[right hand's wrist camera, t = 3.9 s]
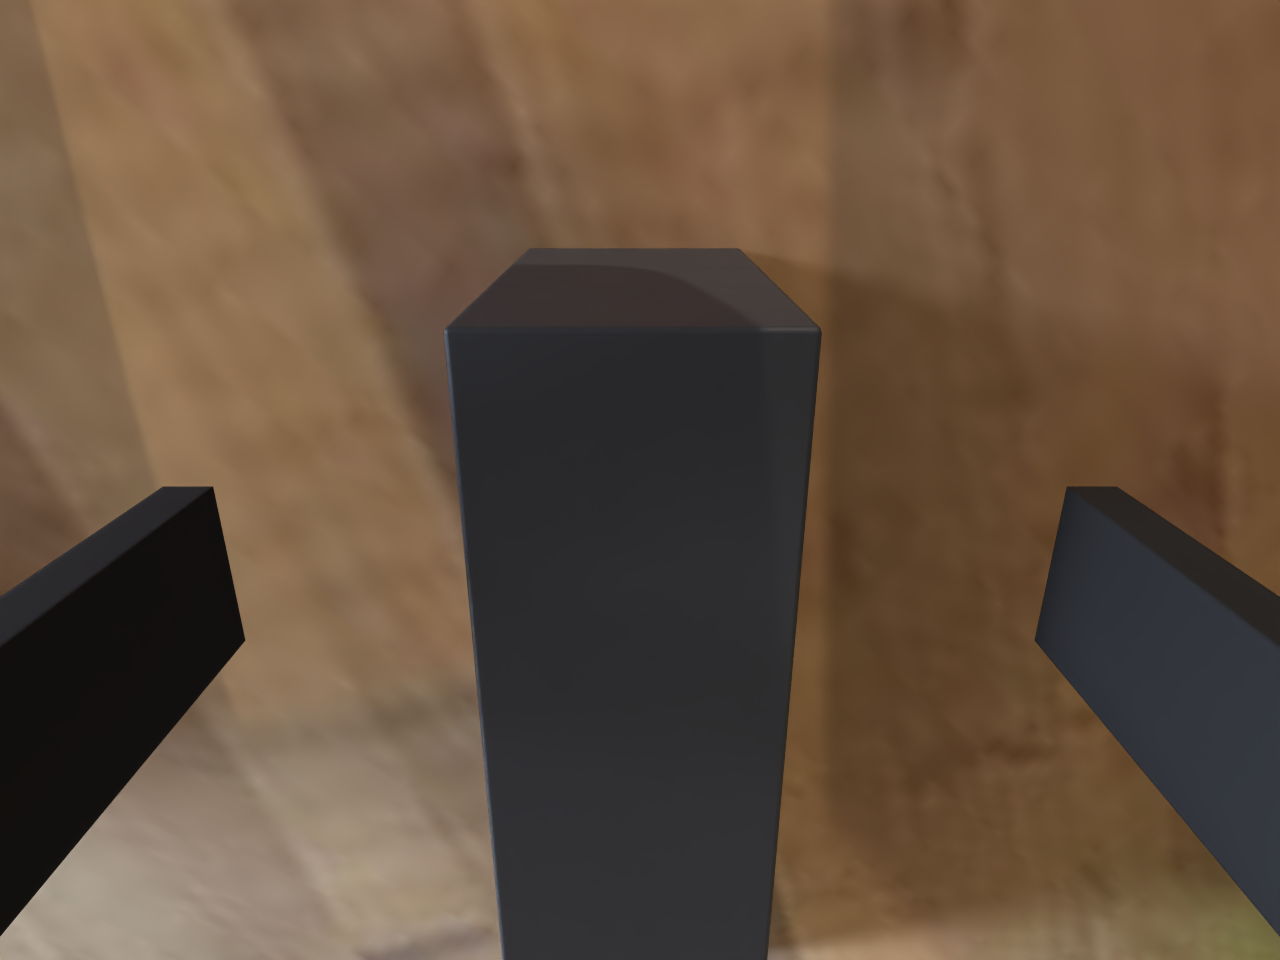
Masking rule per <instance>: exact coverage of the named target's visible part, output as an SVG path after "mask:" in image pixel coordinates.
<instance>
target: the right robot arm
mask: <svg viewBox="0 0 1280 960" xmlns="http://www.w3.org/2000/svg"><path fill="white" fill-rule="evenodd" d="M244 641H245V636H244V632H243V627H242V622H241V617H240V613H239V608H238V603H237V598H236V594H235V589H234V584H233V579H232V574H231V570H230V565H229V560H228V555H227V551H226V546H225V541H224V536H223V532H222V527H221V522H220V517H219V512H218V508H217V503H216V498H215V493H214V489H213V487H162V488H160V489H159V490H158V491H156V492H155V493H153V494H152V495H150V496H149V497H147V498H146V499H144V500H143V501H141V502H140V503H138V504H137V505H135V506H134V507H132V508H131V509H129V510H128V511H126V512H125V513H124V514H122V515H121V516H119V517H118V518H116V519H115V520H113V521H112V522H110V523H109V524H107V525H106V526H104V527H103V528H101V529H100V530H98V531H97V532H95V533H94V534H93V535H91V536H90V537H88V538H87V539H85V540H84V541H82V542H81V543H79V544H78V545H76V546H75V547H73V548H72V549H70V550H69V551H67V552H66V553H64V554H63V555H61V556H60V557H59V558H57V559H56V560H54V561H53V562H51V563H50V564H48V565H47V566H45V567H44V568H42V569H41V570H39V571H38V572H36V573H35V574H33V575H32V576H30V577H29V578H28V579H26V580H25V581H23V582H22V583H20V584H19V585H17V586H16V587H14V588H13V589H11V590H10V591H8V592H7V593H5V594H4V595H2V596H1V597H0V936H1V935H2V934H3V932H4V931H5V930H6V929H7V928H8V926H9V925H10V924H11V923H12V922H13V920H14V919H15V918H16V917H17V915H18V914H19V913H20V912H21V911H22V909H23V908H24V907H25V906H26V905H27V903H28V902H29V901H30V900H31V899H32V897H33V896H34V895H35V894H36V893H37V891H38V890H39V889H40V888H41V887H42V885H43V884H44V883H45V882H46V880H47V879H48V878H49V877H50V876H51V874H52V873H53V872H54V871H55V870H56V868H57V867H58V866H59V865H60V864H61V862H62V861H63V860H64V859H65V858H66V856H67V855H68V854H69V853H70V851H71V850H72V849H73V848H74V847H75V845H76V844H77V843H78V842H79V841H80V839H81V838H82V837H83V836H84V835H85V833H86V832H87V831H88V830H89V829H90V827H91V826H92V825H93V824H94V823H95V821H96V820H97V819H98V818H99V816H100V815H101V814H102V813H103V812H104V810H105V809H106V808H107V807H108V806H109V804H110V803H111V802H112V801H113V800H114V798H115V797H116V796H117V795H118V794H119V792H120V791H121V790H122V789H123V788H124V786H125V785H126V784H127V783H128V781H129V780H130V779H131V778H132V777H133V775H134V774H135V773H136V772H137V771H138V769H139V768H140V767H141V766H142V765H143V763H144V762H145V761H146V760H147V759H148V757H149V756H150V755H151V754H152V752H153V751H154V750H155V749H156V748H157V746H158V745H159V744H160V743H161V742H162V740H163V739H164V738H165V737H166V736H167V734H168V733H169V732H170V731H171V730H172V728H173V727H174V726H175V725H176V724H177V722H178V721H179V720H180V719H181V717H182V716H183V715H184V714H185V713H186V711H187V710H188V709H189V708H190V707H191V705H192V704H193V703H194V702H195V701H196V699H197V698H198V697H199V696H200V695H201V693H202V692H203V691H204V690H205V689H206V687H207V686H208V685H209V684H210V682H211V681H212V680H213V679H214V678H215V676H216V675H217V674H218V673H219V672H220V670H221V669H222V668H223V667H224V666H225V664H226V663H227V662H228V661H229V660H230V658H231V657H232V656H233V655H234V654H235V652H236V651H237V650H238V649H239V647H240V646H241V645H242V644H243V643H244ZM1035 641H1036V643H1037V644H1038V645H1039V646H1040V647H1041V649H1042V650H1043V651H1044V652H1045V654H1046V655H1047V656H1048V657H1049V658H1050V660H1051V661H1052V662H1053V663H1054V664H1055V666H1056V667H1057V668H1058V669H1059V670H1060V672H1061V673H1062V674H1063V675H1064V676H1065V678H1066V679H1067V680H1068V681H1069V682H1070V684H1071V685H1072V686H1073V687H1074V689H1075V690H1076V691H1077V692H1078V693H1079V695H1080V696H1081V697H1082V698H1083V699H1084V701H1085V702H1086V703H1087V704H1088V705H1089V707H1090V708H1091V709H1092V710H1093V711H1094V713H1095V714H1096V715H1097V716H1098V717H1099V719H1100V720H1101V721H1102V722H1103V724H1104V725H1105V726H1106V727H1107V728H1108V730H1109V731H1110V732H1111V733H1112V734H1113V736H1114V737H1115V738H1116V739H1117V740H1118V742H1119V743H1120V744H1121V745H1122V746H1123V748H1124V749H1125V750H1126V751H1127V752H1128V754H1129V755H1130V756H1131V757H1132V759H1133V760H1134V761H1135V762H1136V763H1137V765H1138V766H1139V767H1140V768H1141V769H1142V771H1143V772H1144V773H1145V774H1146V775H1147V777H1148V778H1149V779H1150V780H1151V781H1152V783H1153V784H1154V785H1155V786H1156V788H1157V789H1158V790H1159V791H1160V792H1161V794H1162V795H1163V796H1164V797H1165V798H1166V800H1167V801H1168V802H1169V803H1170V804H1171V806H1172V807H1173V808H1174V809H1175V810H1176V812H1177V813H1178V814H1179V815H1180V816H1181V818H1182V819H1183V820H1184V821H1185V823H1186V824H1187V825H1188V826H1189V827H1190V829H1191V830H1192V831H1193V832H1194V833H1195V835H1196V836H1197V837H1198V838H1199V839H1200V841H1201V842H1202V843H1203V844H1204V845H1205V847H1206V848H1207V849H1208V850H1209V851H1210V853H1211V854H1212V855H1213V856H1214V858H1215V859H1216V860H1217V861H1218V862H1219V864H1220V865H1221V866H1222V867H1223V868H1224V870H1225V871H1226V872H1227V873H1228V874H1229V876H1230V877H1231V878H1232V879H1233V880H1234V882H1235V883H1236V884H1237V885H1238V887H1239V888H1240V889H1241V890H1242V891H1243V893H1244V894H1245V895H1246V896H1247V897H1248V899H1249V900H1250V901H1251V902H1252V903H1253V905H1254V906H1255V907H1256V908H1257V909H1258V911H1259V912H1260V913H1261V914H1262V915H1263V917H1264V918H1265V919H1266V920H1267V922H1268V923H1269V924H1270V925H1271V926H1272V928H1273V929H1274V930H1275V931H1276V932H1277V934H1278V935H1279V936H1280V597H1279V596H1278V595H1276V594H1275V593H1273V592H1272V591H1270V590H1269V589H1267V588H1266V587H1264V586H1263V585H1261V584H1260V583H1258V582H1257V581H1255V580H1254V579H1252V578H1251V577H1250V576H1248V575H1247V574H1245V573H1244V572H1242V571H1241V570H1239V569H1238V568H1236V567H1235V566H1233V565H1232V564H1230V563H1229V562H1227V561H1226V560H1224V559H1223V558H1221V557H1220V556H1219V555H1217V554H1216V553H1214V552H1213V551H1211V550H1210V549H1208V548H1207V547H1205V546H1204V545H1202V544H1201V543H1199V542H1198V541H1196V540H1195V539H1193V538H1192V537H1190V536H1189V535H1187V534H1186V533H1185V532H1183V531H1182V530H1180V529H1179V528H1177V527H1176V526H1174V525H1173V524H1171V523H1170V522H1168V521H1167V520H1165V519H1164V518H1162V517H1161V516H1159V515H1158V514H1156V513H1155V512H1154V511H1152V510H1151V509H1149V508H1148V507H1146V506H1145V505H1143V504H1142V503H1140V502H1139V501H1137V500H1136V499H1134V498H1133V497H1131V496H1130V495H1128V494H1127V493H1125V492H1124V491H1122V490H1121V489H1120V488H1118V487H1067V489H1066V493H1065V498H1064V503H1063V508H1062V512H1061V517H1060V522H1059V527H1058V532H1057V536H1056V541H1055V546H1054V551H1053V555H1052V560H1051V565H1050V570H1049V574H1048V579H1047V584H1046V589H1045V594H1044V598H1043V603H1042V608H1041V613H1040V617H1039V622H1038V627H1037V632H1036V636H1035Z"/></svg>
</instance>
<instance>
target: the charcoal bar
mask: <svg viewBox="0 0 1280 960" xmlns="http://www.w3.org/2000/svg"><path fill="white" fill-rule="evenodd" d="M821 334H822V332H821V329H820V327H819V326H818V325H817V324H816V323H815V322H813V321H812V320H811V319H810V318H809V317H808V316H807V315H806V314H805V313H804V312H803V311H802V310H801V309H800V308H799V307H798V306H797V305H796V304H795V303H794V302H793V301H792V300H791V299H790V298H789V297H788V296H787V295H786V294H785V293H784V292H783V291H782V290H781V289H780V288H779V287H778V286H777V285H776V284H775V283H774V282H773V281H772V280H771V279H770V278H769V277H768V276H767V275H766V274H765V273H763V272H762V271H761V270H760V269H759V268H758V267H757V266H756V265H755V264H754V263H753V262H752V261H751V260H750V259H749V258H748V257H747V256H746V255H745V254H744V253H743V252H742V251H741V250H740V249H529V250H528V251H527V252H526V253H524V254H523V255H522V256H521V257H520V258H519V259H518V260H517V261H516V262H515V263H514V264H513V265H512V266H511V267H510V268H509V269H508V270H506V271H505V272H504V273H503V274H502V275H501V276H500V277H499V278H498V279H497V280H496V281H495V282H494V283H493V284H492V285H491V286H490V287H488V288H487V289H486V290H485V291H484V292H483V293H482V294H481V295H480V296H479V297H478V298H477V299H476V300H475V301H474V302H473V303H472V304H470V305H469V306H468V307H467V308H466V309H465V310H464V311H463V312H462V313H461V314H460V315H459V316H458V317H457V318H456V319H455V320H454V321H452V322H451V323H450V324H449V325H448V326H447V327H446V328H445V331H444V341H445V351H446V362H447V373H448V383H449V394H450V405H451V415H452V426H453V437H454V447H455V458H456V469H457V479H458V490H459V501H460V511H461V522H462V533H463V543H464V554H465V565H466V575H467V586H468V597H469V607H470V618H471V628H472V639H473V650H474V660H475V671H476V682H477V692H478V703H479V714H480V724H481V735H482V746H483V756H484V767H485V778H486V788H487V799H488V810H489V820H490V831H491V842H492V852H493V863H494V874H495V884H496V895H497V906H498V916H499V927H500V937H501V948H502V959H503V960H767V955H768V944H769V932H770V921H771V909H772V898H773V886H774V875H775V863H776V852H777V840H778V829H779V817H780V806H781V794H782V783H783V771H784V760H785V748H786V737H787V725H788V714H789V702H790V691H791V679H792V668H793V656H794V645H795V633H796V622H797V610H798V599H799V587H800V576H801V564H802V553H803V541H804V530H805V518H806V507H807V495H808V484H809V472H810V461H811V449H812V438H813V426H814V415H815V403H816V392H817V380H818V369H819V357H820V346H821Z"/></svg>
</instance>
